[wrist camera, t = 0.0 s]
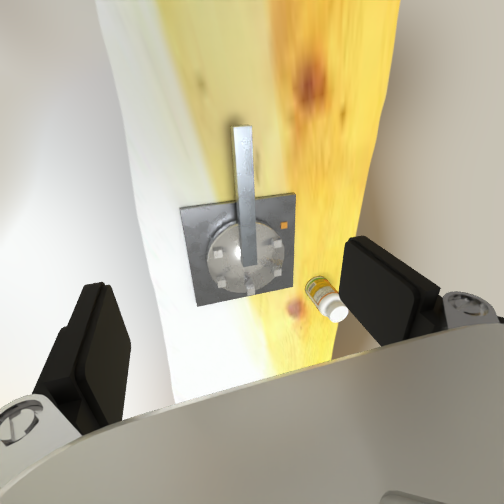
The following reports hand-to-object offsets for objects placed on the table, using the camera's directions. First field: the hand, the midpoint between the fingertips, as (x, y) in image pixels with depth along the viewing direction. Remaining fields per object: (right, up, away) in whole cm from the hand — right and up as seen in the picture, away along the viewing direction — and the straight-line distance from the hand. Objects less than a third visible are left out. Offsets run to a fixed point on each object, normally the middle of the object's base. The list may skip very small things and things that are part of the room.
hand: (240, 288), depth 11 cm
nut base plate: (-1, +2, +42) cm, 42 cm away
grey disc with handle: (-1, +8, +37) cm, 38 cm away
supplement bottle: (+15, -6, +52) cm, 54 cm away
